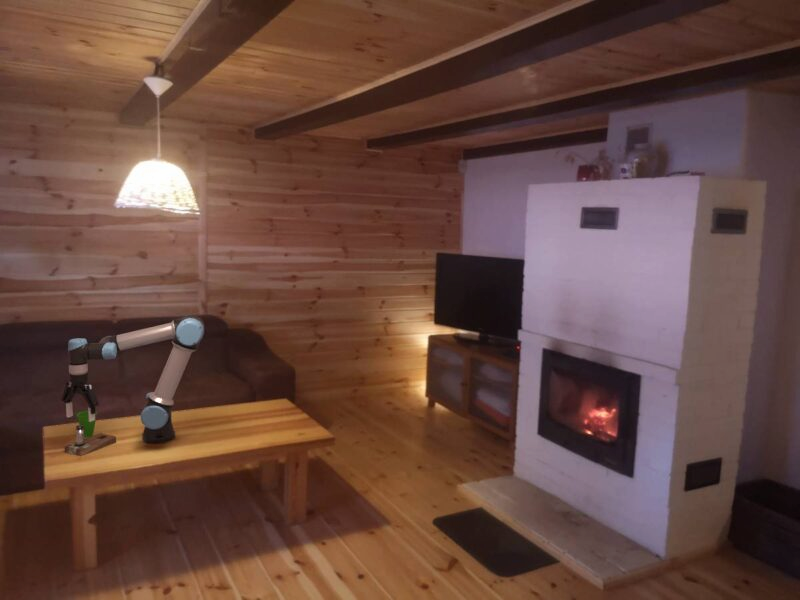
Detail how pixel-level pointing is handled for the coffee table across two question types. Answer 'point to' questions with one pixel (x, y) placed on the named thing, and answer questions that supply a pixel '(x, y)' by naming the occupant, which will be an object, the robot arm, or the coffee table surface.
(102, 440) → the mount board
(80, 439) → the lock pin
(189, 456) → the coffee table surface
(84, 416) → the cup
